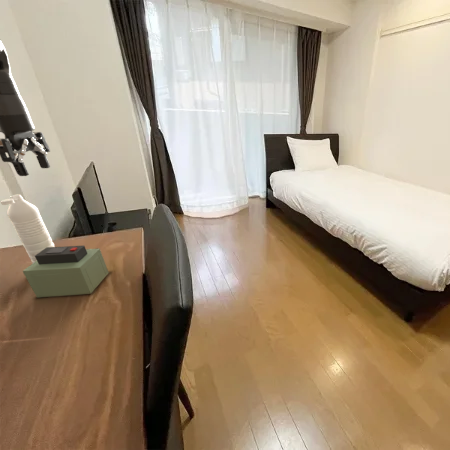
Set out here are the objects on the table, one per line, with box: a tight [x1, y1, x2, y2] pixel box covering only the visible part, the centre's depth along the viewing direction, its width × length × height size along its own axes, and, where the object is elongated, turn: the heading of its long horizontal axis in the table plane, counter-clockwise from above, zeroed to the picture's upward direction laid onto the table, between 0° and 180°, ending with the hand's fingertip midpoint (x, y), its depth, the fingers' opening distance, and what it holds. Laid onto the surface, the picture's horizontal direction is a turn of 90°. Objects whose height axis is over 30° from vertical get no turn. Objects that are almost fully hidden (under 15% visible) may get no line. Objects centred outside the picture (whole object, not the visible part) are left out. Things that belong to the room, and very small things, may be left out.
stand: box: [22, 248, 110, 298], centre depth 79 cm, size 14×10×9 cm
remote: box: [35, 245, 88, 264], centre depth 76 cm, size 10×4×3 cm, turn 97°
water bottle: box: [0, 193, 56, 264], centre depth 82 cm, size 9×6×25 cm
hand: (35, 171), depth 80 cm, fingers open, 8 cm apart
